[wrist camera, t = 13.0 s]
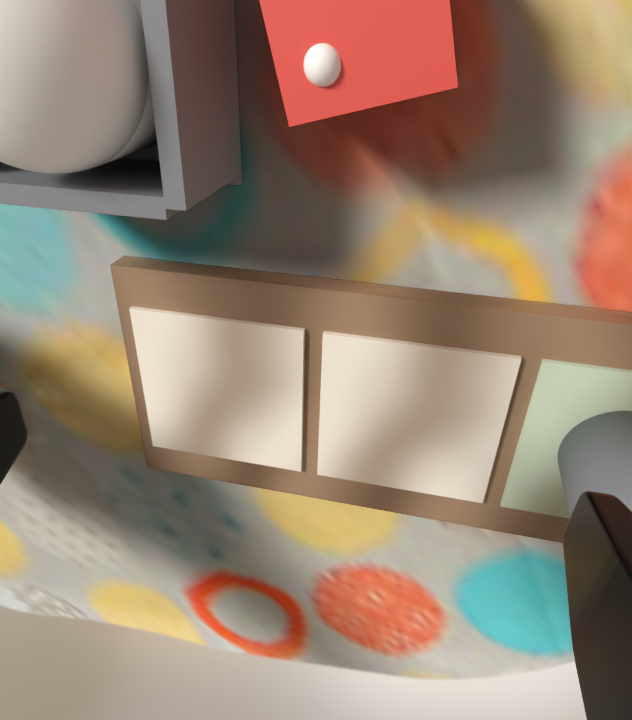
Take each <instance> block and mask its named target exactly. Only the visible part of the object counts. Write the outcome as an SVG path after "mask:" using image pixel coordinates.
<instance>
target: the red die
mask: <svg viewBox="0 0 632 720" xmlns="http://www.w3.org/2000/svg"><path fill="white" fill-rule="evenodd" d="M259 1H260V5H261V10H262V14H263V18H264V22H265V27H266V31H267V35H268V39H269V44H270V48H271V52H272V56H273V61H274V65H275V69H276V73H277V78H278V82H279V86H280V90H281V95H282V99H283V103H284V107H285V112H286V116H287V120H288V124H289V127H291V126H296V125H300V124H304V123H308V122H313V121H317V120H321V119H325V118H330V117H334V116H338V115H342V114H347V113H351V112H355V111H360V110H364V109H368V108H372V107H377V106H381V105H385V104H389V103H394V102H398V101H402V100H406V99H411V98H415V97H419V96H423V95H428V94H432V93H436V92H440V91H445V90H449V89H453V88H458V83H457V72H456V61H455V51H454V40H453V30H452V19H451V8H450V0H259Z"/></svg>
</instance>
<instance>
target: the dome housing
mask: <svg viewBox="0 0 632 720" xmlns="http://www.w3.org/2000/svg"><path fill="white" fill-rule="evenodd" d="M140 3H141V11H142V19H143V28H144V36H145V44H146V53H147V61H148V69H149V78H150V86H151V95H152V103H153V111H154V120H155V128H156V136H157V144H155V145H153V146H151V147H149V148H146V149H144V150H141V151H138V152H135V153H133V154H130V155H127V156H125V157H122V158H119V159H117V160H114V161H111V162H108V163H106V164H103V165H100V166H97V167H94V168H91V169H88V170H84V171H80V172H74V173H61V174H53V173H40V172H33V171H28V170H23V169H20V168H16V167H13V166H10V165H7V164H5V163H2V162H0V204H8V205H18V206H28V207H38V208H49V209H59V210H69V211H79V212H90V213H100V214H110V215H120V216H131V217H141V218H151V219H161V220H167V219H169V218H170V217H172V216H174V215H175V214H177V213H178V212H180V211H181V210H182V211H187V210H188V209H190V208H191V207H193V206H194V205H196V204H197V203H199V202H200V201H202V200H203V199H205V198H206V197H208V196H210V195H211V194H213V193H214V192H216V191H217V190H219V189H220V188H222V187H223V186H225V185H226V184H229V185H240V184H242V167H241V144H240V121H239V98H238V75H237V52H236V29H235V6H234V0H140Z"/></svg>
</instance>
